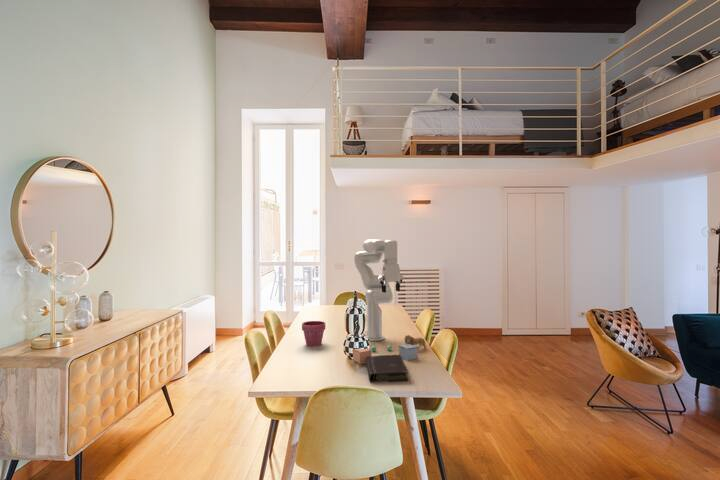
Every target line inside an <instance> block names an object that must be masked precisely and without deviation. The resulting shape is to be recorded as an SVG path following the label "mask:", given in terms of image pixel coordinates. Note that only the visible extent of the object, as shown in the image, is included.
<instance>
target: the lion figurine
mask: <svg viewBox="0 0 720 480" xmlns="http://www.w3.org/2000/svg"><path fill="white" fill-rule="evenodd" d="M404 343H405V345H406V344H411V345H413V346H417V345H418V346H417V350H418V349H419V350H420V349H421V347H422V346H423V347H424V348H423V350H425V351H426V350H427V345H426V341H425V339H424V338H423V337H417V338H414V337H413V336H411V335H408V334H407V335H405V336H404Z"/></svg>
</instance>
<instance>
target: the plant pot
mask: <svg viewBox="0 0 720 480" xmlns="http://www.w3.org/2000/svg"><path fill="white" fill-rule="evenodd" d="M301 330H302V331H303V335H304V339H305V343H306V346H310V347H317V346H321V345H322V344H323V343H322V342H323V337H324V332H325V330H326V322H325V321H321V320H311V321H309V320H308V321H304V322H302V324H301Z"/></svg>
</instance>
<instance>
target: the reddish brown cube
mask: <svg viewBox="0 0 720 480" xmlns="http://www.w3.org/2000/svg"><path fill="white" fill-rule="evenodd" d="M365 348H366V349H356V348H352V362H353V361H354V362H355V363H356V364H359V365H362V364H366V358H367V356H372V350H371V348H370V349H369V348H368V347H365Z"/></svg>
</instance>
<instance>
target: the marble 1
mask: <svg viewBox="0 0 720 480" xmlns="http://www.w3.org/2000/svg"><path fill="white" fill-rule="evenodd" d="M370 350H371V352H376V351H377V346H376V345H372V346H371V348H370Z"/></svg>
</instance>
